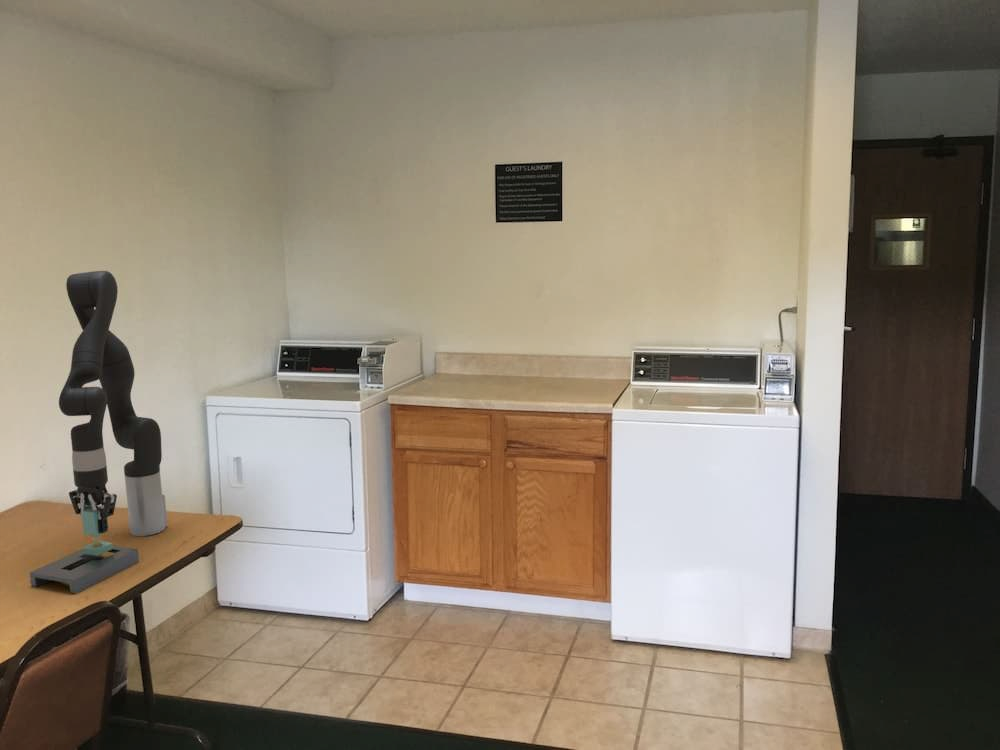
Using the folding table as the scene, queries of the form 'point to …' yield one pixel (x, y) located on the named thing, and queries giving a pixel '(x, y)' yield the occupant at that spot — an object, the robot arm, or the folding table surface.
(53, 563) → the keyhole plate
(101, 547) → the teal stud
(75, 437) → the robot arm
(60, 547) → the folding table surface
